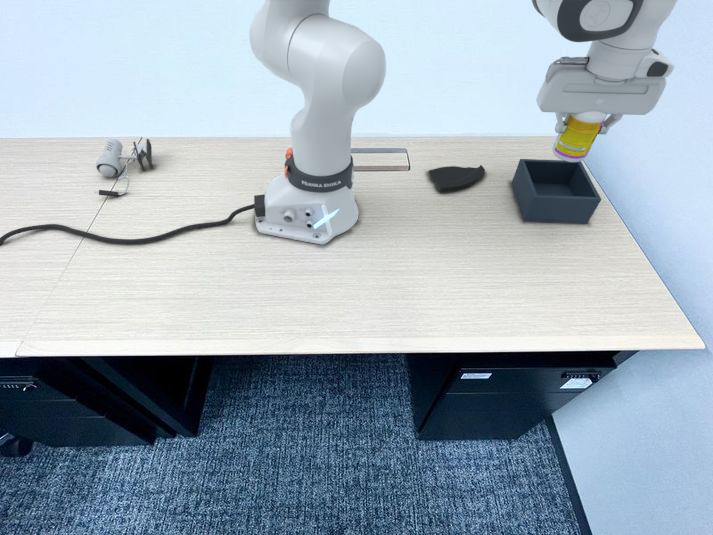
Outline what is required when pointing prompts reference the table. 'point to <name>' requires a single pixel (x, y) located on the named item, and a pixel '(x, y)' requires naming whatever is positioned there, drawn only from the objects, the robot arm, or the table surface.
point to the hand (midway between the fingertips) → (579, 132)
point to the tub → (554, 191)
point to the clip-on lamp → (111, 164)
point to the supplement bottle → (578, 134)
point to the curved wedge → (455, 177)
